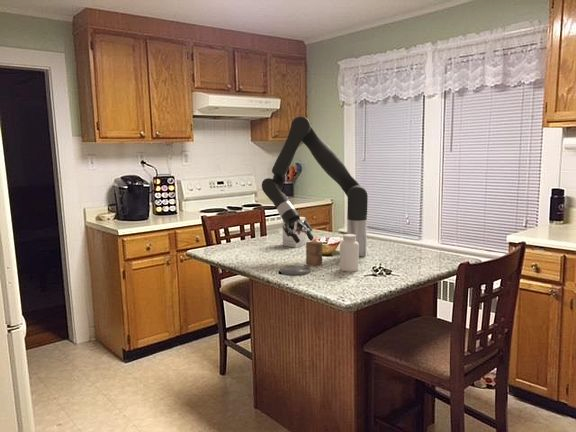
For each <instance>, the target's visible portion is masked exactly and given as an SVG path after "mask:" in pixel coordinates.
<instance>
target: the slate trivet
mask: <svg viewBox="0 0 576 432" xmlns="http://www.w3.org/2000/svg"><path fill="white" fill-rule="evenodd" d="M311 270H312V269H311V268H310V267H309V266H307V265H301V264H300V265H299V264H294V265H293V264H292V265H284V266H281V267H279V273H280V272H281V273H280V274H283V275H285V274H286V276H304V275H308V274H310V273H311Z"/></svg>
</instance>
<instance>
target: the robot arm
mask: <svg viewBox="0 0 576 432" xmlns="http://www.w3.org/2000/svg"><path fill="white" fill-rule="evenodd" d="M301 142H302V143H303V144H304V145H305V146H306V147H307V148H308V150H309V151H310V153H311V155H312V156H313V158H314V160H315V161H316V162H317V164H318V165H319V166H320V167H321V169H322V170H323V171H324V172H325V173H326V174H327V175H328V176H329V177H330V178H331V179H332V180H333V181H334V182H335V183H337V185H338V186H340V188H341V190H342V191H343V192H344V193H345V194H344V195H345V196H346V197H347V210H346V212H347V218H346V221H347V222H346V223H347V224H346V225H347V227H346V234H354V235H356V240H355V241H357V242H358V243H359V257H366V256H367V247H368V246H367V245H368V244H367V243H368V242H367V241H368V239H367V238H368V237H367V236H368V235H367V234H368V233H367V224H368V223H367V222H368V220H367V218H368V200H369V199H368V193H367V190H366V189H365V188H364V186H362V185H361V184H360V183H359V182H358V181H357V180H356V179H355V178H354V177H353V176H352V175H351V174H350V172H349V170H348V169H347V167H346V165H345V164H344V162H343V161H342V160H341V158H340V157H339V156H338V154H336V152H335V151H334V150H333V149H332V147H330V146H329V145H328V144H327V143H326V142H325V141H323V140H322V138H321V137H320V136H318V134H317V133H316V131H315V130H314V128H313V127H312V125H311V122H310V121H309V119H308V118H307V117H305V116H303V115H300V116H296V117H295V118H294V119H293V120H292V121H291V123H290V128H289V133H288V134H287V138H286V140H285V142H284V144H283V146H282V149H281V151H280V152H279V154H278V156H277V158H276V160H275V162H274V164H273V166H272V168H271V173H272V174H273V177H272V178H270V177H268V178H264V179H263V181H262V182H261V190H262V191H263V193H264V194H265V196H266V197H267V198H268V199H269V200H270V201H271V202H272V203H273V206H274V207H275V208H276V210H277V213H278V214H279V216H280V219H282V222H283V221H284V223H285V224H284V225H283V224H282V226H281V227H282V230H283V229H284V231H285V233H286V234H287V236H288V237H289V236H291V237H293V239H294V241H295V242H296V243H299V242H300V239H299V238H298V236H297V234H296V232H297V231H301V232H304V233H305V235H306V238H308V239H309V242H311V241H314V235H313V234H312V231H313V228H312V226H311V225H310V223H309V222H308V220H307V219H305V221H303V222H302V221H301V220H300V217H301V216H300V214H299V213H298V211H297V209H296V208H295V207H294V205H293V204H292V203H291V201H290V200H289V199H288V196H287V195H286V194H285V193H284V192H282V190H283V187H284V182H285V180H286V179H285V178H286V175H287V172H288V171H289V169H290V167H291V164H292V162H293V160H294V157H295V154H296V152H297V150H298V148H299V145H300V144H301ZM303 227H304V229H302V228H303ZM290 229H291V230H290ZM288 232H289V233H288Z"/></svg>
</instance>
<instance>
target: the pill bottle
mask: <svg viewBox="0 0 576 432" xmlns="http://www.w3.org/2000/svg"><path fill="white" fill-rule="evenodd" d="M342 239H343V240H342V241H341V242H340V243H339V270H340V271H343V272H347V273H349V272H350V273H351V272H352V273H353V272H357V271H359V264H360V263H359V261H360V260H359V259H360V256H359V243H358V242H357V241H355V240H356V235H354V234H347V233H346V234H343V236H342Z"/></svg>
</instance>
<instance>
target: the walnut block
mask: <svg viewBox="0 0 576 432" xmlns="http://www.w3.org/2000/svg"><path fill="white" fill-rule="evenodd" d="M305 253H306V254H305V255H306V256H305V261H306V262H305V266H307V265H308V266H310V267H318V266H321V265H322V266H323V242H321V241H317V240H312V241H307V242H306V241H305Z"/></svg>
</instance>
